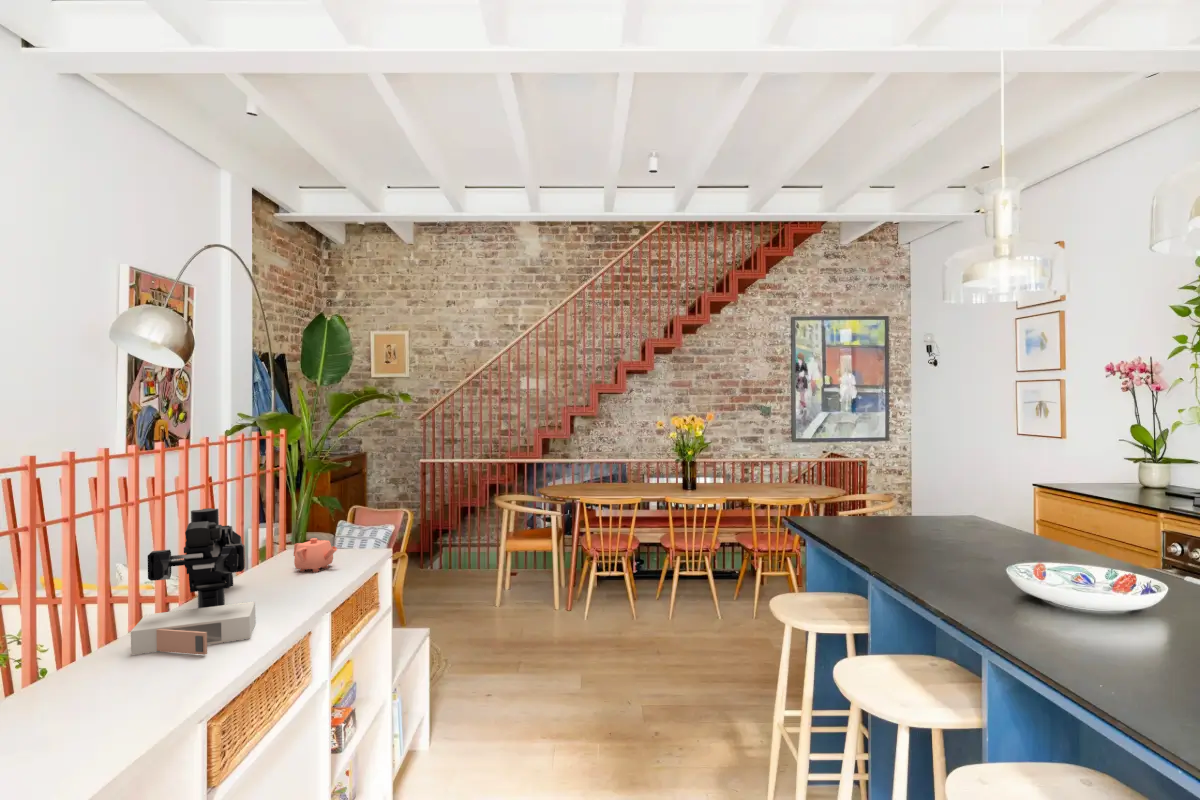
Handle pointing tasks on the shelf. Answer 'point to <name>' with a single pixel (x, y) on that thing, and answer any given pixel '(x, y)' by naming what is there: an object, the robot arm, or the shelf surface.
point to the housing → (196, 625)
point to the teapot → (313, 554)
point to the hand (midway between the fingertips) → (190, 570)
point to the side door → (182, 641)
